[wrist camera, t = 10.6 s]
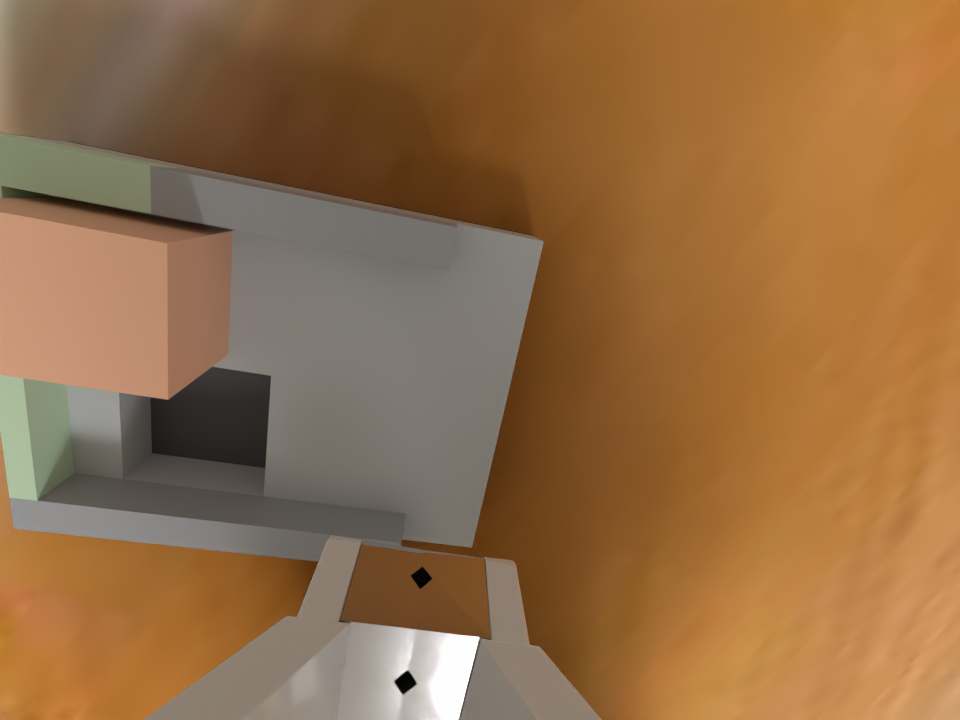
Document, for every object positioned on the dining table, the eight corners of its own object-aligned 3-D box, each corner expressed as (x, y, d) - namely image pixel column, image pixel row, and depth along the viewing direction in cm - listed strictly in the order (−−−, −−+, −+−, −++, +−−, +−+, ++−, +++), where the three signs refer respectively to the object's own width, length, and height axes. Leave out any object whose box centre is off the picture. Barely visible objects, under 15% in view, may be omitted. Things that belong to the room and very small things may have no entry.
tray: (533, 235, 21) (554, 246, 17) (469, 516, 26) (474, 578, 22) (66, 141, 19) (-41, 127, 15) (89, 469, 24) (13, 528, 19)
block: (232, 230, 18) (167, 243, 14) (228, 354, 20) (167, 399, 15) (59, 197, 17) (-66, 199, 13) (69, 328, 19) (-41, 368, 15)
